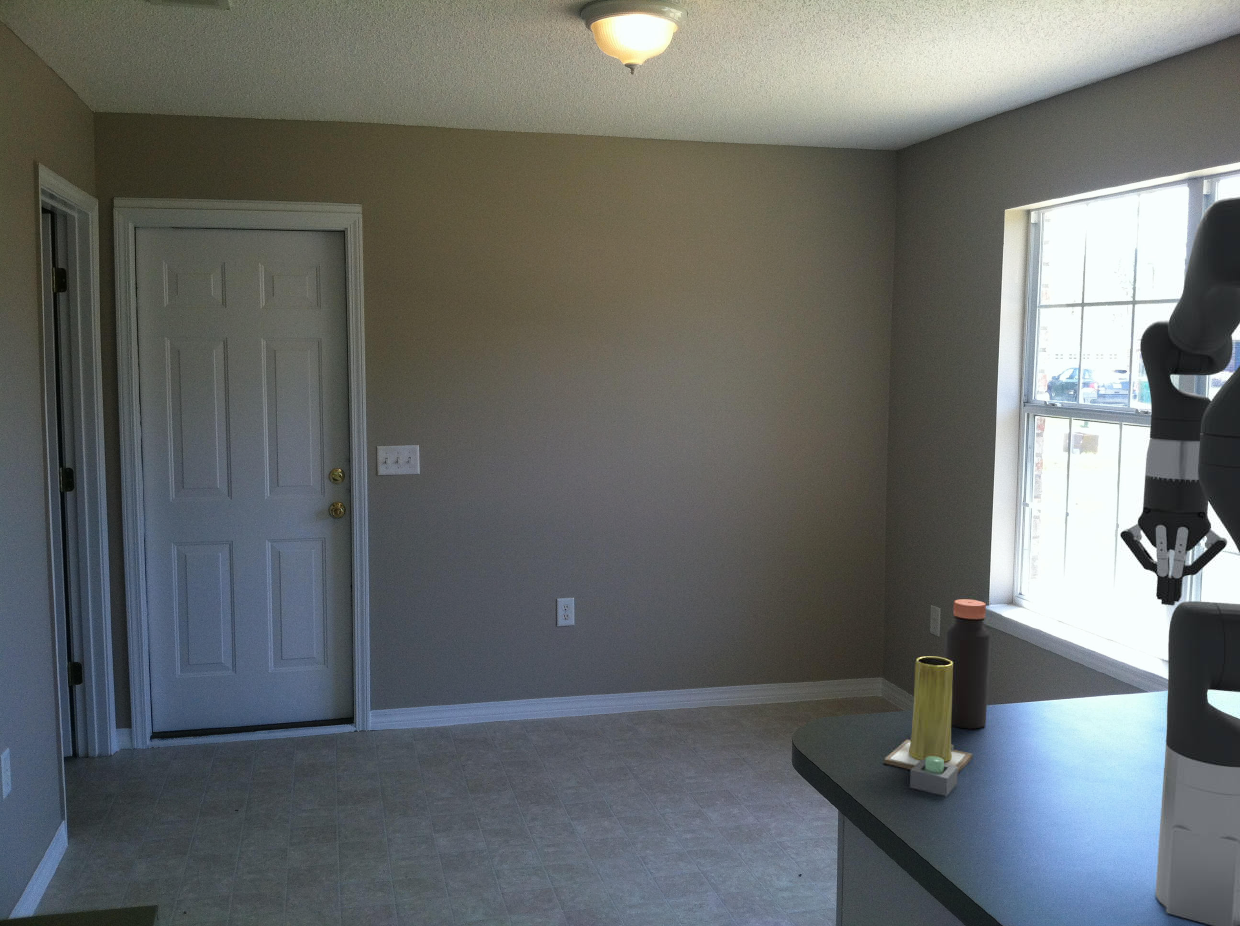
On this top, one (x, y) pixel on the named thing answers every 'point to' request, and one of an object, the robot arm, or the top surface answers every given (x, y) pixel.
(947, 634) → the bottle
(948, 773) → the button housing
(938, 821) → the top surface
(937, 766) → the button
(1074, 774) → the top surface
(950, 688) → the vase
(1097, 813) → the top surface
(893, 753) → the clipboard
